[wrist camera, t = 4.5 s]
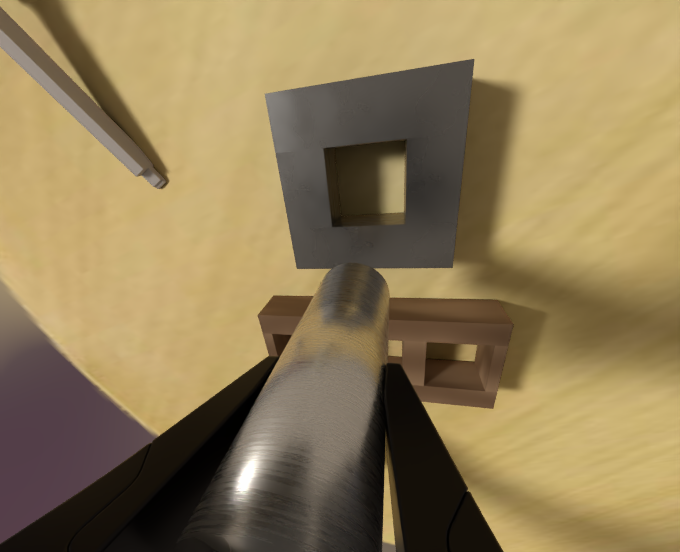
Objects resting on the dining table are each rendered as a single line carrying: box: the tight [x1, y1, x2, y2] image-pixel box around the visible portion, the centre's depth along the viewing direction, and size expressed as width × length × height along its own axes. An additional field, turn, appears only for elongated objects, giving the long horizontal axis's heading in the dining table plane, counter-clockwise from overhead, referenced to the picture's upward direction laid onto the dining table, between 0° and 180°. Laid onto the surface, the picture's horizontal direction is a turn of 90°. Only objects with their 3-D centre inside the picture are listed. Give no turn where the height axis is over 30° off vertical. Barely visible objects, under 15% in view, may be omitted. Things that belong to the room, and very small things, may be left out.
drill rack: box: [258, 296, 514, 409], centre depth 21 cm, size 8×18×3 cm, turn 96°
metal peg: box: [174, 263, 390, 552], centre depth 8 cm, size 3×3×9 cm
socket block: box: [265, 59, 474, 269], centre depth 16 cm, size 10×10×3 cm
